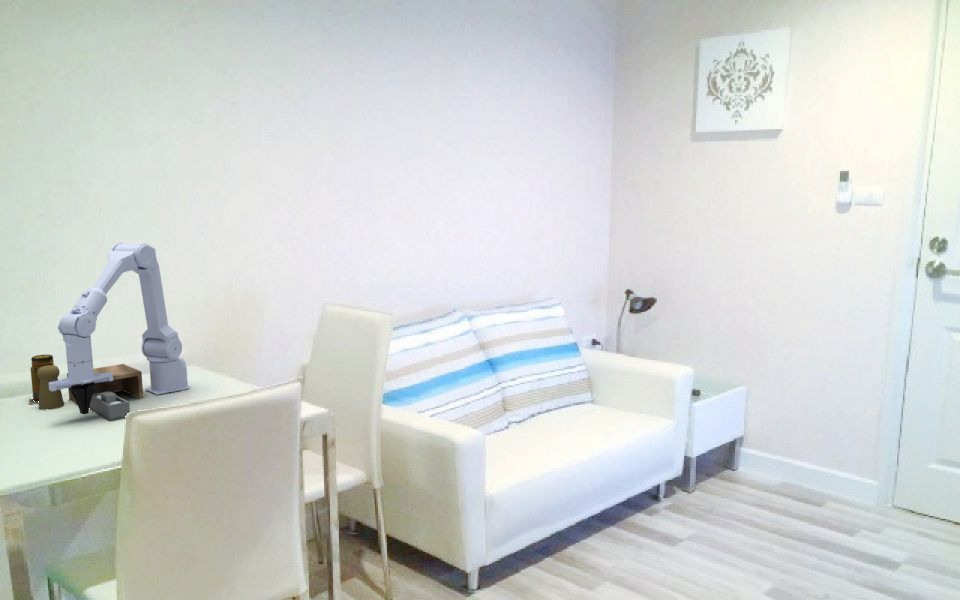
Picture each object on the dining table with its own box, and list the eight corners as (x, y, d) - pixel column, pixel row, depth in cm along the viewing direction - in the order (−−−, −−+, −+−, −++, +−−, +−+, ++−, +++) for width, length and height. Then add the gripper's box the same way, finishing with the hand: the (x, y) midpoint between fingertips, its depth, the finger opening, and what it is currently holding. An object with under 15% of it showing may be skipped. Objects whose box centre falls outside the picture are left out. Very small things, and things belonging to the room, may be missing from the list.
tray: (109, 406, 208) (108, 387, 207) (130, 417, 198) (128, 397, 197) (90, 409, 204) (88, 390, 203) (109, 421, 194) (108, 401, 194)
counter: (125, 389, 224) (123, 363, 223) (143, 397, 215) (141, 371, 214) (69, 399, 214) (66, 373, 213) (85, 409, 205) (83, 381, 204)
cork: (53, 410, 204) (49, 369, 203) (33, 409, 205) (29, 368, 204) (69, 403, 210) (65, 364, 208) (50, 402, 211) (46, 363, 210)
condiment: (60, 394, 220) (56, 352, 218) (59, 401, 213) (55, 358, 211) (31, 397, 217) (26, 355, 215) (28, 405, 209) (24, 361, 208)
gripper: (53, 368, 187) (58, 422, 189) (115, 358, 197) (120, 410, 199) (44, 363, 192) (49, 416, 194) (105, 354, 202) (109, 404, 204)
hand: (84, 413), depth 197 cm, fingers closed
